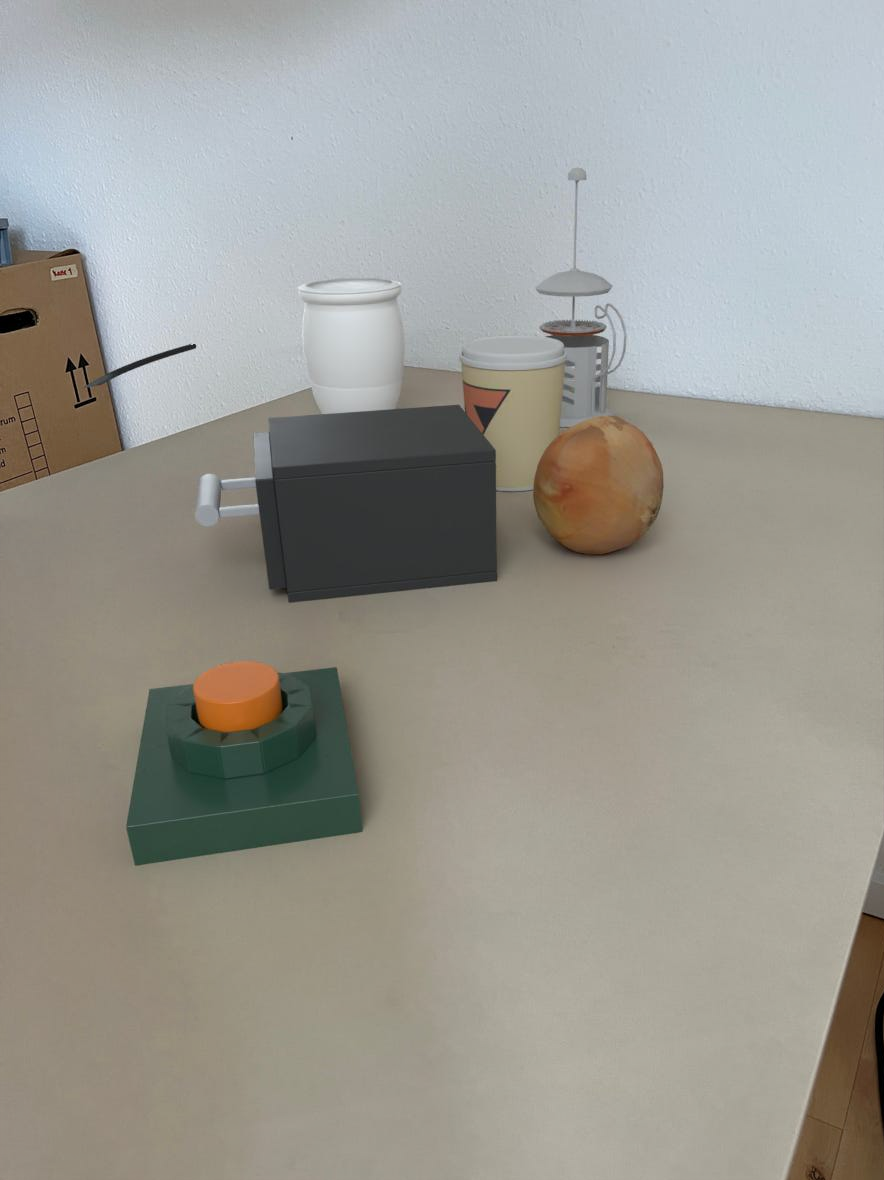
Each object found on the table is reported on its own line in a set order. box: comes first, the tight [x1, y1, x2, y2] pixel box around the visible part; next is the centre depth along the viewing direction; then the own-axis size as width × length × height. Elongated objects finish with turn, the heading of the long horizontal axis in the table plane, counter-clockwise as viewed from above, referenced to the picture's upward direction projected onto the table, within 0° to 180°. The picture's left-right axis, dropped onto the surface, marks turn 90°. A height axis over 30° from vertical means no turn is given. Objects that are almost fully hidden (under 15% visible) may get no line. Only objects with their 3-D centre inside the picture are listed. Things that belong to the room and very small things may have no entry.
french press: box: [535, 166, 627, 428], centre depth 102 cm, size 10×12×25 cm
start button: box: [193, 660, 283, 732], centre depth 47 cm, size 4×4×2 cm
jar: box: [296, 277, 406, 414], centre depth 101 cm, size 11×10×15 cm
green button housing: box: [125, 666, 363, 867], centre depth 48 cm, size 12×10×4 cm
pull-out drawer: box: [194, 431, 287, 590], centre depth 70 cm, size 18×11×8 cm, turn 102°
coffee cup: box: [458, 334, 567, 492], centre depth 87 cm, size 9×9×12 cm
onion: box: [532, 415, 665, 556], centre depth 72 cm, size 10×10×10 cm
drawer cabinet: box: [267, 404, 498, 604], centre depth 71 cm, size 15×13×10 cm
